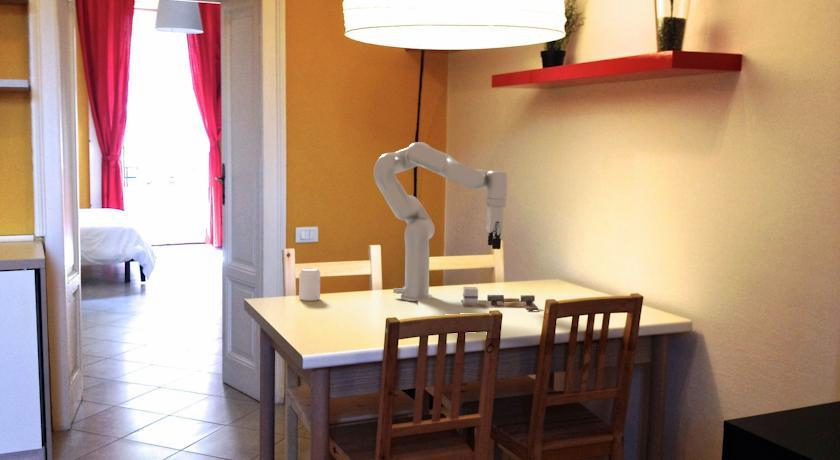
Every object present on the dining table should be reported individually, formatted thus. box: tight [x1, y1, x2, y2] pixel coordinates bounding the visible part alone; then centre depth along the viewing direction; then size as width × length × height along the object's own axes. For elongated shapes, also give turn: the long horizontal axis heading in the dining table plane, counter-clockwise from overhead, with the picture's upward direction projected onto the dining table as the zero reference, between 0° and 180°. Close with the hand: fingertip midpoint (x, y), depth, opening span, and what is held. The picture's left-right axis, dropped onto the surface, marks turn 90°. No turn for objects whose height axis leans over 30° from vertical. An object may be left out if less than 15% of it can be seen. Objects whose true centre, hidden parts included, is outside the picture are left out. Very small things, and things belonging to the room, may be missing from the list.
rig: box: [460, 294, 539, 311], centre depth 306 cm, size 28×13×5 cm, turn 93°
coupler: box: [462, 286, 479, 305], centre depth 305 cm, size 5×5×6 cm
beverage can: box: [298, 267, 321, 302], centre depth 311 cm, size 8×8×12 cm
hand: (494, 247), depth 308 cm, fingers open, 9 cm apart
